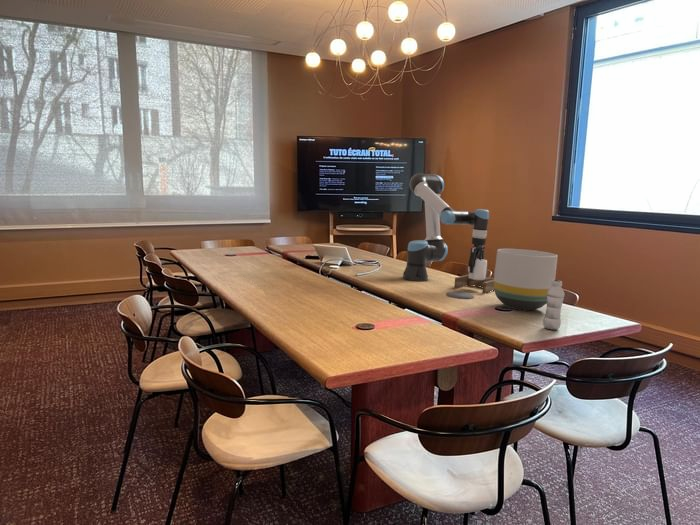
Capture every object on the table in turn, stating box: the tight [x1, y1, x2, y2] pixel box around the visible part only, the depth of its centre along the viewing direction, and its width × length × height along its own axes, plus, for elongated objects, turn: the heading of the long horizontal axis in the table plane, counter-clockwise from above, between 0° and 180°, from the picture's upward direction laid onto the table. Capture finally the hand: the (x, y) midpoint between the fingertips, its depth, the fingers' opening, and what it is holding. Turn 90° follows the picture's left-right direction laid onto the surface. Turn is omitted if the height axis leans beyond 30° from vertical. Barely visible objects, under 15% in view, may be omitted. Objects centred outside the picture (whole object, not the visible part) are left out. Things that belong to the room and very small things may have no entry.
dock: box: [453, 274, 494, 294], centre depth 266 cm, size 18×18×6 cm
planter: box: [493, 248, 558, 311], centre depth 223 cm, size 27×27×27 cm
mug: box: [467, 258, 488, 280], centre depth 264 cm, size 9×12×11 cm
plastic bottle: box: [542, 279, 566, 331], centre depth 189 cm, size 6×7×20 cm
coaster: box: [446, 291, 475, 300], centre depth 245 cm, size 14×14×1 cm
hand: (474, 277), depth 264 cm, fingers closed on mug, 9 cm apart
